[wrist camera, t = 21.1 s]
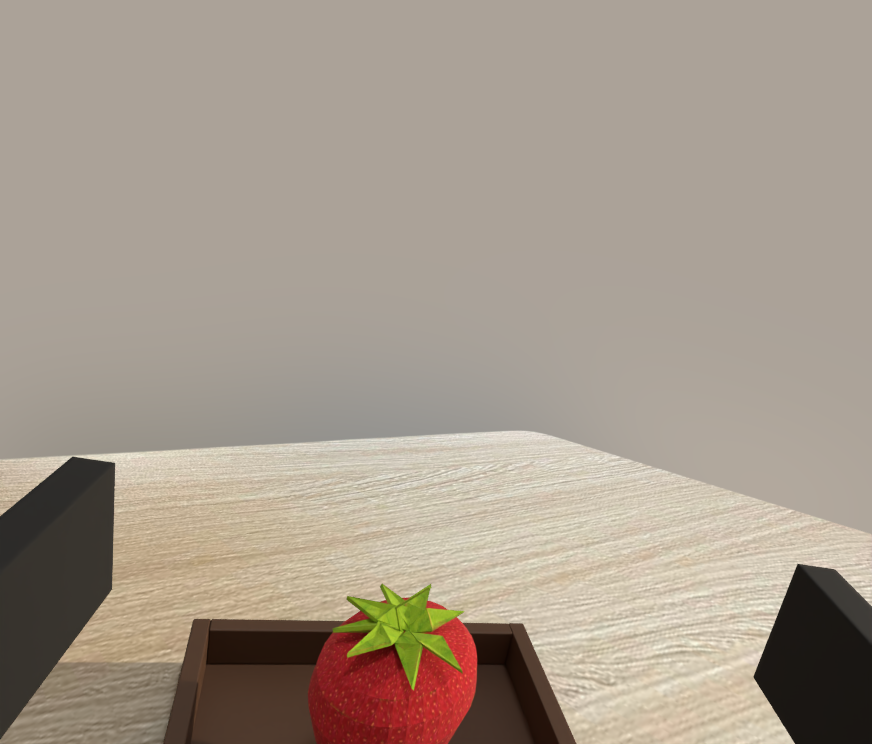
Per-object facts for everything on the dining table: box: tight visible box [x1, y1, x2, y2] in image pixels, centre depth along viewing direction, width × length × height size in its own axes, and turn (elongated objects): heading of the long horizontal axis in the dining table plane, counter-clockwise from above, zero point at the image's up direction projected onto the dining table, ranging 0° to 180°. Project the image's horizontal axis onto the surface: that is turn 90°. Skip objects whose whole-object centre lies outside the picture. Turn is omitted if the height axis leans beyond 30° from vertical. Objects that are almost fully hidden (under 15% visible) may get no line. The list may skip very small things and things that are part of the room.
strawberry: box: [308, 584, 477, 744], centre depth 25 cm, size 6×8×10 cm
